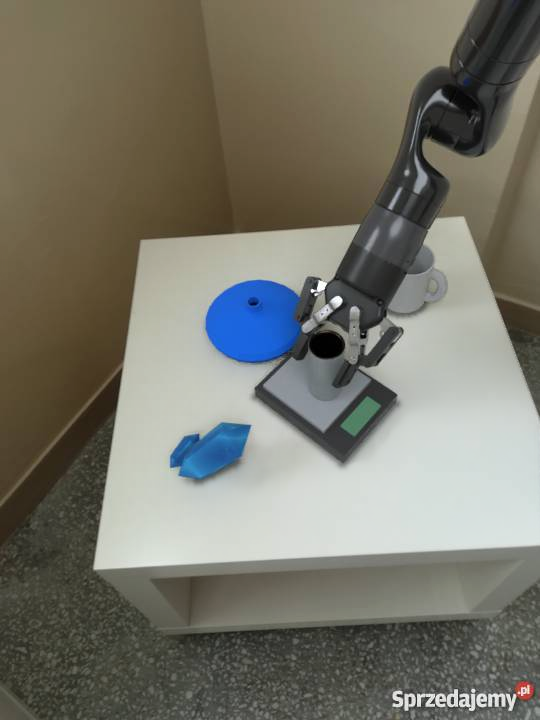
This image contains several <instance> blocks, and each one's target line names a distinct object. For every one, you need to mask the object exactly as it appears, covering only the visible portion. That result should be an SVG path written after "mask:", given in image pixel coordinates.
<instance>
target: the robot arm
mask: <svg viewBox="0 0 540 720" xmlns="http://www.w3.org/2000/svg"><path fill="white" fill-rule="evenodd" d="M539 56H540V0H475V1H474V4H472V7H471V10H470V12H469V13H468V16H467V18H466V20H465V22H464V24H463V26H462V28H461V30H460V33H459V35H458V37H457V39H456V40H455V43H454V45H453V47H452V49H451V53H450V56H449V63H448V64H449V65H443V64H441V65H440V64H439V65H435V66H434V67H432V68H430V69H429V70H428V71H426V72H425V73H424V74H423V75H422V76H421V77H420V78H419V80H418V81H417V83H416V85H414V86H415V87H414V89H413V91H412V94H411V97H410V100H409V104H408V109H407V113H406V118H405V121H404V127H403V132H402V136H401V140H400V143H399V146H398V150H397V153H396V155H395V159H394V161H393V163H392V166H391V169H390V171H389V173H388V175H387V177H386V179H385V181H384V182H383V185H382V187H381V189H380V191H379V193H378V195H377V196H376V198H375V200H374V203H373V204H372V206H371V208H370V209H369V210H368V212H367V213H366V215H365V216H364V218H363V219H362V221H361V222H360V224H359V227H358V228H357V230H356V232H355V233H354V236H353V238H352V240H351V242H350V244H349V246H348V248H347V250H346V252H345V254H344V256H343V258H342V259H341V261H340V263H339V265H338V267H337V269H336V271H335V274H334V277H333V278H332V279H330V280H329V281H324V280H323V279H322V278H321V277H318V276H311V275H310V276H307V277H306V278H305V280H304V282H303V287H302V289H301V292H300V294H299V300H298V303H297V306H296V309H295V312H294V315H293V319H294V320H295V321H297V322H298V323H299V325H300V326H301V333H300V335H299V337H298V339H297V341H296V343H295V345H294V346H293V348H292V349H291V352H293V353H294V354H293V358H294V359H295V360H297V361H300V360H303V359H304V358H305V356H306V355H307V353H308V343H309V340H310V338H311V337H312V335H313V334H315V333H316V332H318V331H321V329H323V328H324V327H325V326H327V325H329V324H332V325H335V326H339V328H340V329H341V330H342V331H344V333H347V334H348V337H347V343H348V357H347V359H345V360H346V361H344V363H343V365H342V367H341V368H340V370H339V372H338V374H337V376H336V377H335V379H334V381H333V383H332V386H333V387H335V388H336V389H337V388H341V387H344V386H347V385H348V384H349V383H350V382H351V380H352V378H353V376H354V375H355V373H356V371H357V369H358V368H359V369H360V367H364V368H366V369H369V368H374V367H377V366H379V365H380V364H381V363H382V361H383V360H384V359H385V358H386V356H387V355H388V353H389V352H390V351H391V350H392V348H393V347H394V346H395V345H396V344H397V343H398V341H399V340H400V339H401V338H402V336H403V335H404V333H405V330H404V328H403V326H398V325H396V324H395V323H394V322H393V321H391V320H390V319H389V318H388V310H389V309H388V306H389V304H390V303H391V301H392V299H393V298H394V296H395V294H396V292H397V291H398V289H399V287H400V285H401V283H402V282H403V280H404V278H405V276H406V275H407V273H408V271H409V269H410V268H411V267H412V266H413V264H414V262H415V261H416V257H417V255H418V253H419V252H420V250H421V247H422V245H423V244H425V243H424V242H425V240H426V238H427V235H428V233H429V230H430V229H432V226H433V224H434V222H435V221H436V218H437V217H438V216H439V213H440V212H441V210H442V208H443V207H444V205H445V203H446V201H447V199H448V197H449V195H450V193H451V190H452V182H451V180H450V179H449V178H448V177H447V176H446V175H445V174H444V173H443V172H442V171H441V170H439V169H438V168H437V167H436V166H434V165H433V164H432V163H431V162H430V161H429V160H428V159H427V157H426V155H425V152H424V143H425V140H428V141H430V142H433V143H434V144H436V145H438V146H441V147H443V148H445V149H446V150H449V151H450V152H452V153H455V154H456V155H458V156H461V157H463V158H467V159H475V158H479V157H482V156H485V155H487V153H489V152H491V151H492V150H493V149H494V148H495V147H496V146H497V144H498V143H499V142H500V140H501V139H502V136H503V135H504V133H505V131H506V129H507V125H508V123H509V120H510V116H511V114H512V109H513V105H514V101H515V96H516V93H517V91H518V89H519V86H520V85H521V82H522V81H523V79H524V77H525V76H526V74H527V73H528V71H529V70H530V69H531V67H532V66H533V64H534V63H535V61H536V60H537V59H538V57H539ZM323 293H324V301H325V302H324V303H325V304H324V306H323V307H322V308H320V309H319V310H318V311H316V312H315V313H314V314H313V312H314V308H315V305H316V302H317V299H318V297H320V296H322V294H323ZM312 314H313V315H312ZM377 326H380V330H379V333H378V335H379V337H380V338H379V340H378V341H377V342H376V343H375V345H373V347H372V348H371V349H370V351H369V352H368V353H367V354H366V352H367V345H368V343H369V337H370V336H369V335H370V330H371V329H373V328H375V327H377Z"/></svg>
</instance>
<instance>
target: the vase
mask: <svg viewBox="0 0 540 720" xmlns="http://www.w3.org/2000/svg"><path fill="white" fill-rule="evenodd" d="M299 297H300V295H298V294H297V292H296V291H294V290H293V289H291V288H290V287H288V286H286V285H285V284H283V283H279V282H276V281H273V280H265V279H252V280H245V281H243V282H238V283H236V284H234V285H232V286H230V287H228V288H226V289H224V290H223V291H222V292H221V293H220V294H219V295H217V296H216V297H215V298H214V300H213V301H212V303H211V304H210V305H209V307H208V309H207V311H206V315H205V331H206V334H207V337H208V340H209V341H210V342H211V344H212V345H213V346H214V348H215V349H216V350H217V351H219V352H220V353H221V354H223V355H224V356H225V357H227V358H228V359H231V360H234V361H237V362H240V363H245V364H263V363H268V362H271V361H274V360H277V359H280V358H281V357H283V356H285V355H286V354H288V353H290V352H291V351H292V349H293V346H294V345H295V343H296V341H297V339H298V337H299V335H300V333H301V326H300V325H299V323H298V322H297V321H295V320H294V319H293V315H294V312H295V309H296V306H297V303H298V300H299Z"/></svg>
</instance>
